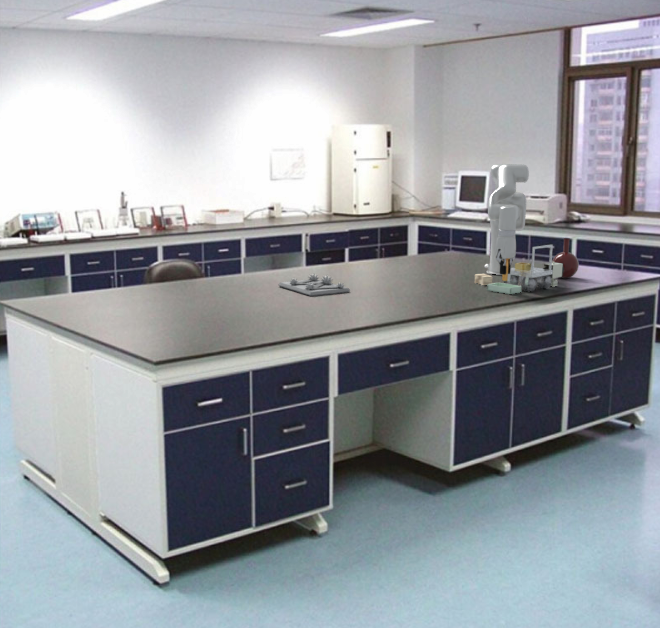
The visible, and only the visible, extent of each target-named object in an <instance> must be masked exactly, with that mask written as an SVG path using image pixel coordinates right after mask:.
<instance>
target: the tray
mask: <svg viewBox="0 0 660 628" xmlns="http://www.w3.org/2000/svg"><path fill="white" fill-rule="evenodd" d="M522 290H523V288H522V286H521V285H511V284H505V283H504V282H499V281H498V282H492V284H487V286H486V291H487V292H491V291H493V293H497V292H499V293H498V294H503V293H505V295H509V294H512V295H516V294H515V293H517V294H521V293H522ZM520 292H521V293H520Z"/></svg>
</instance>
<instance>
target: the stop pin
mask: <svg viewBox="0 0 660 628" xmlns="http://www.w3.org/2000/svg"><path fill="white" fill-rule="evenodd" d="M509 259H510V258H508V259H506V265H505V266H506V274H505V275H504V274H502V275H501V276H502V278H501V280H502V282H504V281H507V280H508V260H509ZM503 261H504V260H503Z"/></svg>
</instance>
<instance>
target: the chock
mask: <svg viewBox="0 0 660 628" xmlns="http://www.w3.org/2000/svg"><path fill="white" fill-rule="evenodd" d="M476 283H478V284H477V285H479V284H481V285H480V286H482V285H487V284H492V283H493V276H492V275H491V274H487V273H476V274H474V284H476Z"/></svg>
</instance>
